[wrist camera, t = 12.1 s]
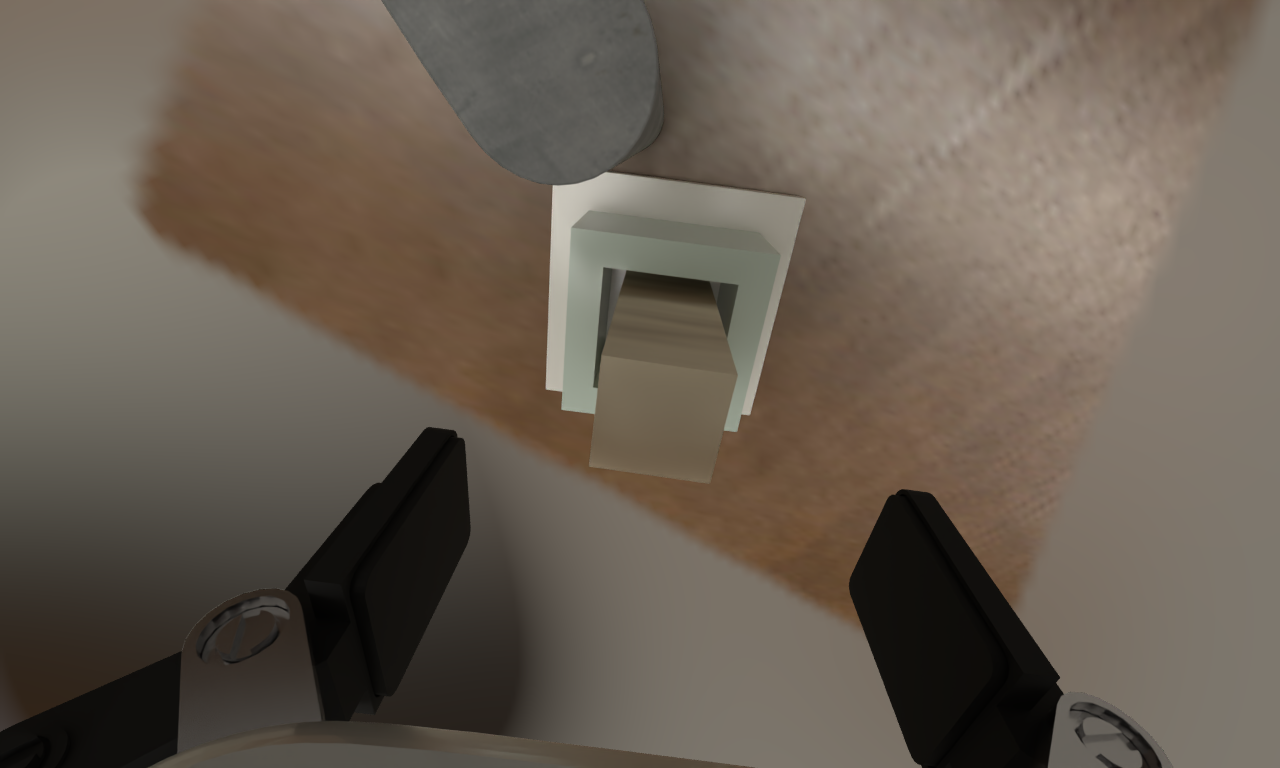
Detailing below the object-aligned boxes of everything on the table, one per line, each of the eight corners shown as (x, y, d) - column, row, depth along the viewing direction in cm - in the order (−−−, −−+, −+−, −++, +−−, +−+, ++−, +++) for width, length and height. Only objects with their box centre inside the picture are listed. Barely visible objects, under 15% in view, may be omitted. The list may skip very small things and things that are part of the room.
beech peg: (629, 260, 25) (601, 355, 14) (707, 272, 25) (737, 375, 14) (619, 333, 27) (589, 466, 16) (692, 344, 27) (709, 483, 16)
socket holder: (557, 164, 24) (526, 172, 18) (800, 196, 24) (839, 213, 19) (549, 381, 29) (523, 436, 24) (747, 406, 29) (765, 467, 24)
